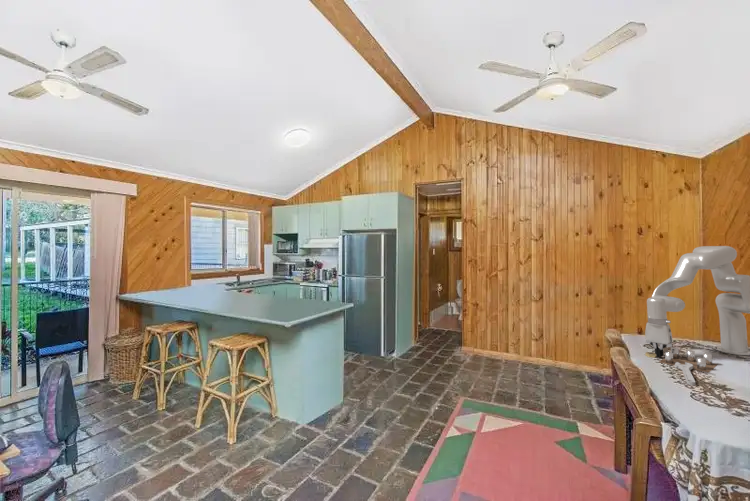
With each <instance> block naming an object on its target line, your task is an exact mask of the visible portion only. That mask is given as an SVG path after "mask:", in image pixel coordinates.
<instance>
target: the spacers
mask: <svg viewBox="0 0 750 501" xmlns="http://www.w3.org/2000/svg"><path fill="white" fill-rule="evenodd" d="M685 352H686V358H687V361H689V362H695V360H697V369H699V370H706V365H712V363H713V356H712V353H708V352H703V353H702V357H696V356H695V355H696V353H695V351H694V350H691V349H686V351H685ZM664 357H665V362H666V363H670V364H673V363H674V361H673V358H674V359H679V357H680V353H679V348H678V347H673V346H672V347H670V351H664ZM670 364H669V365H670ZM699 370H698V371H699Z"/></svg>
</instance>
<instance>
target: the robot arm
mask: <svg viewBox="0 0 750 501" xmlns="http://www.w3.org/2000/svg"><path fill="white" fill-rule="evenodd" d="M737 257H738V252H737V250H736V248H734V247H732V246H728V245H718V246H717V245H711V246H710V245H707V246H706V245H705V246H702V245H701V246H698V247H697V246H696V247H695V248H694V249H693V250H692V252H687V253H684V254H682V255H681V256H680V258H679V260H678V262H677V264H676V266H675V268H674V270H673V272H672V274H671V276H670V277H669V278H667V279H665V280H664V281H663V282H661V283H660V284H659V285H658V286H656V288H655V289H654V291H653V292H652V295H651V297H648V298H647V299H646V307H647V308H646V313H647V322H646V324H645V331H644V333H645V334H644V337H645V343H646V344H648V345H651V346H652V347H653V349H654V353H655V354H656V356H657V357H659V358H661V357H663V356H664V349H665V348H672V347H673V344H672V343H673V333H672V330H671V327H670V326H671V325H670V324H671V322H672V321H671V320H668V318H667V316H668V315H667V312H670V313H671V312H673V313H679V312H682V311H683V310H684V309H685V308H686V303H685V301H684V300H682V299H681V298H679V297H674V296H668V295H669V294H670V293H671V292H672V291H674V290H677V289H679V288H683V287H686V286H690V285H692V283H693V282H694V279H695V278H696V276H697V273H698V272H699V270H710V272H711V275H712V278H713V282H714V286H715V287H716V289H717V290H719V291H723V293H719V294H718V295H717V296H716V297H715V304H716V305H715V306H716V307H717V312H718V317H719V319H718V320H719V333H720V334H719V335H720V345H719V346H717V347H716V349H717V350H718V351H719V352H722V353H725V354H729V355H737V356H750V349H749V347H748V332H747V330H748V329H747V320H746V317H745V315H744V314H750V275H748V274H738V273H736V269H735V268H734V265H733V263H732V262H734V261H735V260H736V258H737Z"/></svg>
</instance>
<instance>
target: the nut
mask: <svg viewBox="0 0 750 501" xmlns="http://www.w3.org/2000/svg"><path fill="white" fill-rule="evenodd" d="M645 357H648V358H653V359H655V358H658V356H656V354H655V352H652V351H646V352H645Z"/></svg>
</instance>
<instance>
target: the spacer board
mask: <svg viewBox="0 0 750 501" xmlns="http://www.w3.org/2000/svg"><path fill="white" fill-rule="evenodd" d="M673 361H674V363H673V364H670V363H666V362H665V358H662V359H661V360H659V361H658V363H661V364H665V365H670V366H674V367H675V363H676V362H679V363H680V364H681V365H685V362H687V363H690V364H692V365H693V369H692V370H694V371H699V372H705V373H710V372H711V371H712V370H714V369H715V368H716V367H717V366H719V363H713V362H712V365H706V370H699V369H697V360H696V359H695V362H689V361H687V357H681V356H679V359H674V358H673Z"/></svg>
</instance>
